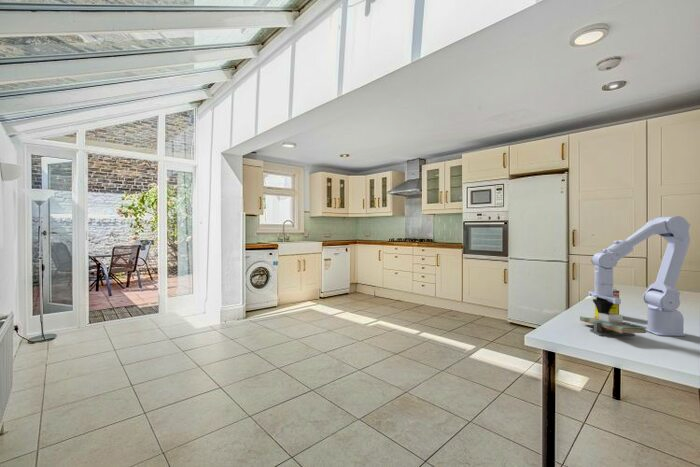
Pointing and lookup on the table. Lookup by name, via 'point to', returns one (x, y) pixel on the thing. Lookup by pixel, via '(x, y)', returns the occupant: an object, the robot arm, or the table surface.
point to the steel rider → (611, 318)
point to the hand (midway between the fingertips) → (603, 318)
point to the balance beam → (616, 326)
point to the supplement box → (613, 310)
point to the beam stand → (608, 331)
